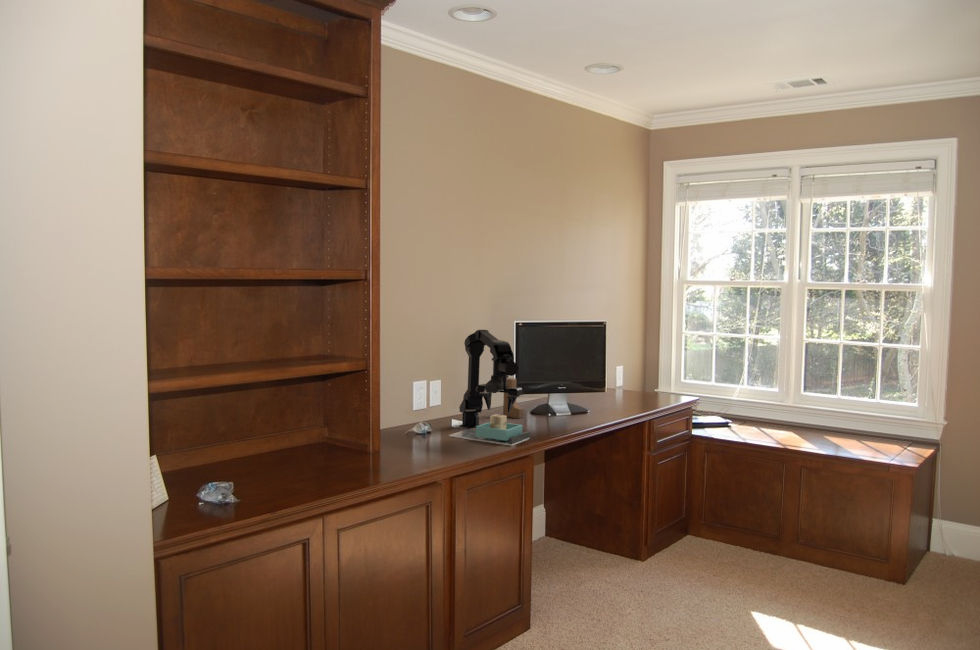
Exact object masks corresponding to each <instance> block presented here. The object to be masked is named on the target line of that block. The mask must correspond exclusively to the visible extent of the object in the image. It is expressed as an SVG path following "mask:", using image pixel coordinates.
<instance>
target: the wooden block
mask: <svg viewBox="0 0 980 650" xmlns="http://www.w3.org/2000/svg"><path fill="white" fill-rule="evenodd" d="M517 381H518V380H517V378H514V377H513V378H512V377H508V378H507V385H508V389H509V388H512V387H517ZM507 396H510V395H509V394H508V393H503V405H502V406H503V409H502V415H506V416H507V418H514V419H518V420H519V419H521V418H524V415H525V414H524V412H525V409H524V408H525V407H524V408H523V407H521V406H519V404H518V403H517V399H516V400H515V402H514V404H513V406H512V408H511V411H510V412H508V397H507Z"/></svg>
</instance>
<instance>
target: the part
mask: <svg viewBox="0 0 980 650" xmlns="http://www.w3.org/2000/svg"><path fill="white" fill-rule="evenodd" d="M507 419H508V417H507V416H506V415H503V414H498V413H497V414H496V413H495V414H492V415H490V416H489V422H490V428H495V429H502V430H506V425H507V423H508V422H507V421H508V420H507Z"/></svg>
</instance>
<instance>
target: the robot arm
mask: <svg viewBox="0 0 980 650" xmlns="http://www.w3.org/2000/svg"><path fill="white" fill-rule="evenodd" d="M485 346H486V347H488V348H489V353H490V354H491V355H492V358H491V361H492V362H493V363H492V366H493V367H492V375H491V377H490V380H488V381H487V382H486V383H482V384H480V363H481V362H480V360H481V359H480V358H481V356H482V355H483V353H484V351H485ZM464 348H465V349H464V350H465V352H466V354H467V356H468V367H467V368H468V369H467V370H468V371H467V373H468V374H467V388H466V389H467V390H466V391H465V393H464V394H463V400H462V401H461V403H460V405H459V407H458V408H459V413H462V419H461V420H462V424H460V427H465V428H470V429H474V428H476V426H479V425H481V424H480V416H479V413H482V410H483V405H484V401H485V405H486V408H487V411H490V410H491V405H492V393H493V394H497V393H502V394H504V393H508V394H509V395H510V396H507V397H508V412H510V411H511V408H512V406H513V404H514V402H515V400H516V401H517V399H518V398H520V397H521V396H522V395H523V394H524V393H523V392H524V390H523V388H522V387H517V386H516V387H512V388H509V389H508V385H507V378H509V376H510V377H513V376H516V374H517V373H518V371H519V367H518V364H517V363H516V362H515V361H514V360H515V357H514V352H513V350H512V347H511V344H510V343H509V341H505V340H501V339H498V338H497V337H496V336H495V335H493V334H492V333H490V332H489V330H487V329H478V330H475V332H473V333H471V334H469V335H468V336H467V337H466V338H465V339H464ZM483 399H484V400H483Z"/></svg>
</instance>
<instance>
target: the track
mask: <svg viewBox="0 0 980 650" xmlns="http://www.w3.org/2000/svg"><path fill="white" fill-rule="evenodd" d="M530 435H531V433H530V431H524V432H523V431H522V433H521V434H518V435H515V436H512V437H510V438H509V440H507V441H502V440H499V439H492V438H485V437H483V438H481V437H478V436H476V429H474V428H467V429H464V430H461V431H457V432H454V433H451V434H448V437H452V438H457V439H463V440H471V441H478V442H482V443H489V444H491V443H492V444H496V445H503V446H509V447H512V446H514V445H517V444H520V443H522V442H525V441H528V440H529V439H530V438H531V437H530Z"/></svg>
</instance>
